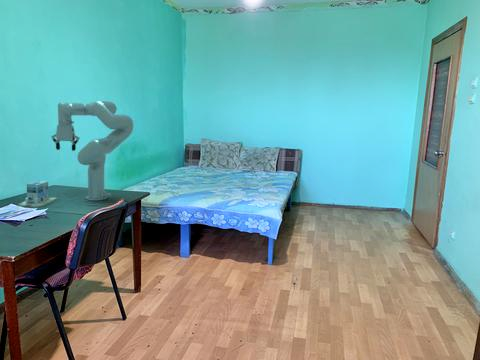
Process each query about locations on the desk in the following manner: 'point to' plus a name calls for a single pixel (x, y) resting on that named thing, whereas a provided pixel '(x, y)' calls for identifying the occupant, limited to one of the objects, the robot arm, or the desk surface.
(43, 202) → the locator board
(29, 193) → the light bulb box
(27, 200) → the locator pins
